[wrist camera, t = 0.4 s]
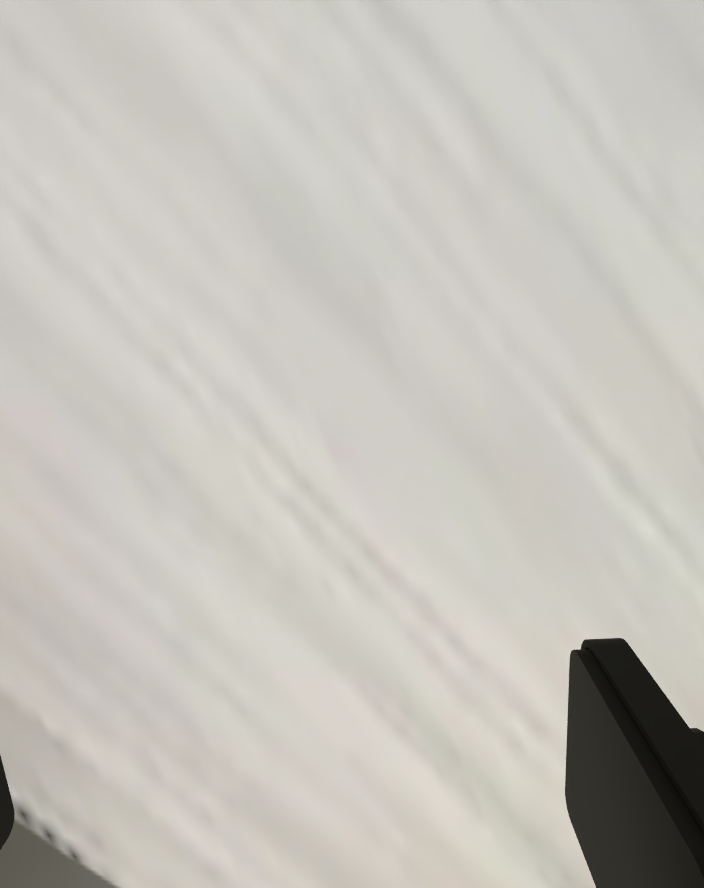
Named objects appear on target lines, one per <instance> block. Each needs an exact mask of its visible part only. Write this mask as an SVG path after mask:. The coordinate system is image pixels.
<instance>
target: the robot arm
mask: <svg viewBox="0 0 704 888" xmlns="http://www.w3.org/2000/svg"><path fill="white" fill-rule="evenodd" d="M565 796H566V804H567V809H568V813H569V817H570V820H571V823H572V825H573V828H574V831H575V833H576V836H577V838H578V841H579V844H580V846H581V849H582V851H583V854H584V857H585V859H586V862H587V865H588V867H589V870H590V872H591V875H592V878H593V880H594V883H595V885H596V888H704V732H703V731H701V730H699V729H697V728H691V729H690V728H689V727H688V726H687V724H686V723H685V721H684V720H683V719H682V717H681V716H680V715H679V713H678V712H677V710H676V709H675V708H674V706H673V705H672V704H671V702H670V701H669V699H668V698H667V697H666V695H665V694H664V693H663V691H662V690H661V688H660V687H659V686H658V684H657V683H656V682H655V680H654V679H653V677H652V676H651V675H650V673H649V672H648V671H647V669H646V668H645V666H644V665H643V664H642V662H641V661H640V660H639V658H638V657H637V656H636V654H635V653H634V651H633V650H632V649H631V647H630V646H629V645H628V643H627V642H626V641H625V640H624V639H621V638H612V639H589V640H584V641H583V643H582V646H581V650H573V651H571V654H570V669H569V697H568V726H567V754H566V782H565ZM13 822H14V807H13V803H12V799H11V795H10V791H9V788H8V784H7V780H6V776H5V772H4V768H3V764H2V760H1V756H0V850H1V848H2V846H3V845H4V843H5V842H6V840H7V838H8V837H9V835H10V832H11V830H12V827H13Z"/></svg>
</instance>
